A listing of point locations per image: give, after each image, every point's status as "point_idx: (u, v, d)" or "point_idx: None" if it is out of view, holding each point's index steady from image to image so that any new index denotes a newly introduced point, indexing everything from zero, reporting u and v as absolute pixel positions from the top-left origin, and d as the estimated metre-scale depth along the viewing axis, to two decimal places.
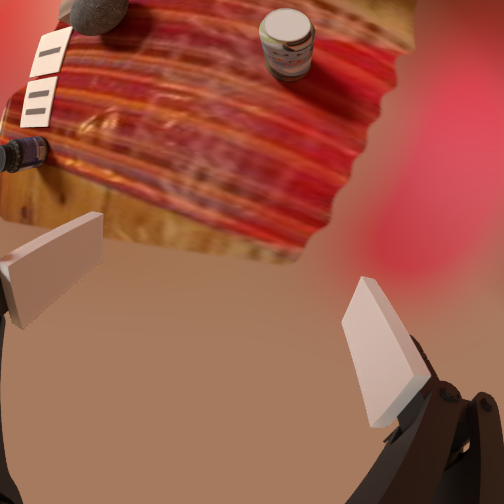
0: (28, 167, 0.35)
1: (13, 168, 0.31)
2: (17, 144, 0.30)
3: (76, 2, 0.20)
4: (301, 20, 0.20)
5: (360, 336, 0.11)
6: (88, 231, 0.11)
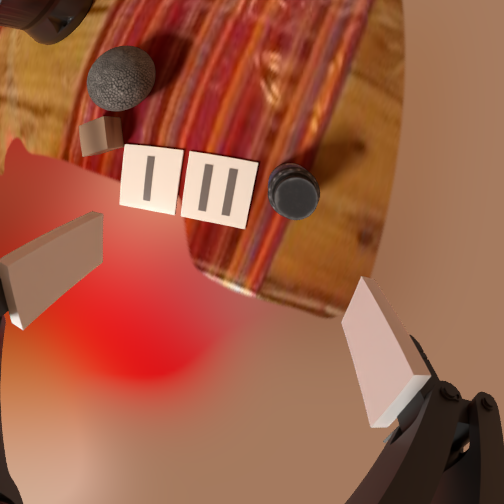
0: None
1: (315, 184, 0.30)
2: (278, 172, 0.30)
3: (101, 80, 0.25)
4: None
5: (360, 336, 0.11)
6: (88, 231, 0.11)
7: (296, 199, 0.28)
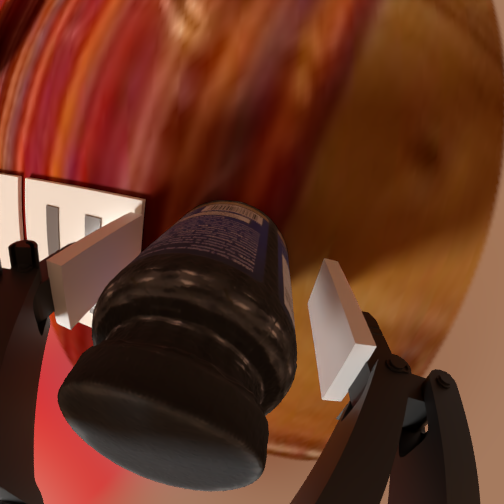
0: (286, 276, 0.10)
1: (271, 354, 0.06)
2: (110, 284, 0.06)
3: None
4: None
5: (319, 313, 0.12)
6: (130, 231, 0.12)
7: (154, 455, 0.04)
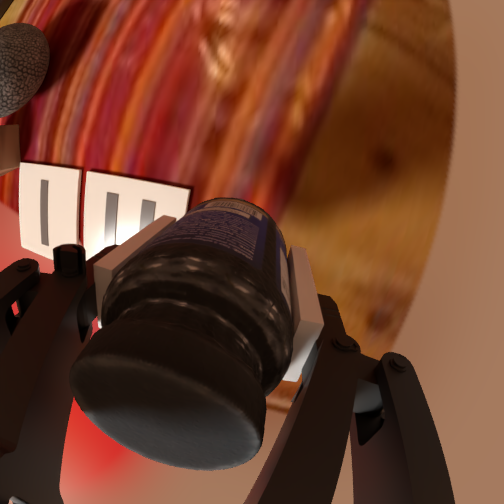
0: (284, 267, 0.10)
1: (268, 335, 0.07)
2: (120, 271, 0.07)
3: None
4: None
5: None
6: None
7: (159, 430, 0.05)
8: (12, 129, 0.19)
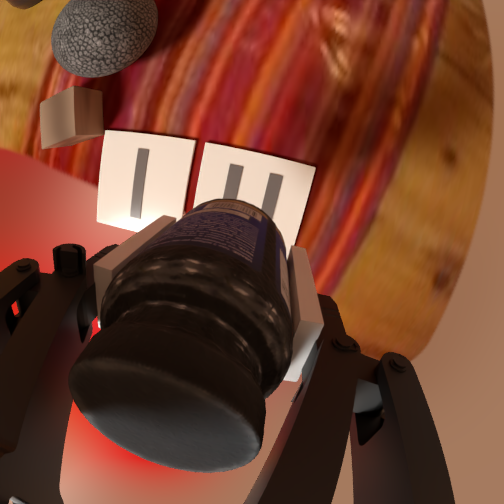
0: (283, 269, 0.10)
1: (268, 338, 0.07)
2: (119, 273, 0.07)
3: (69, 24, 0.11)
4: None
5: None
6: None
7: (158, 433, 0.05)
8: (96, 94, 0.21)
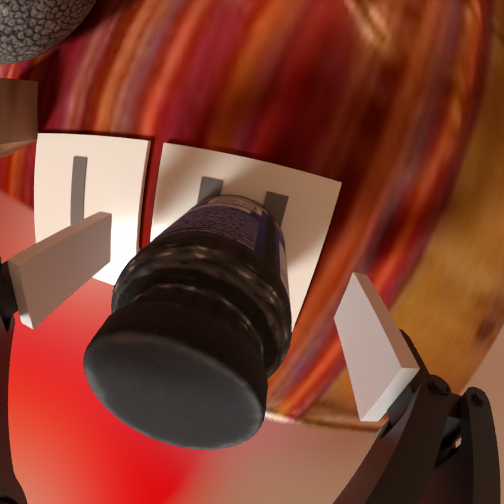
0: (283, 259, 0.11)
1: (269, 318, 0.07)
2: (131, 260, 0.08)
3: None
4: None
5: (351, 331, 0.11)
6: (97, 231, 0.11)
7: (168, 407, 0.06)
8: (28, 86, 0.12)
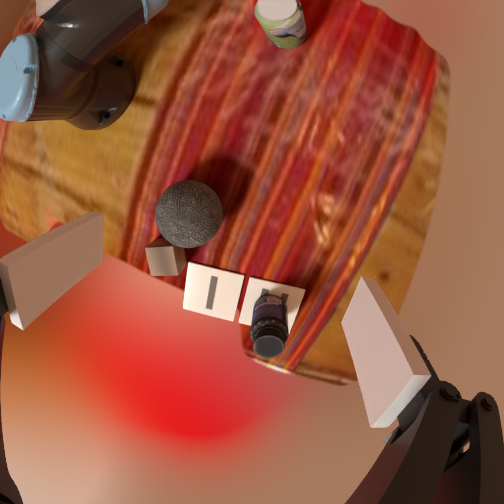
0: (286, 317, 0.45)
1: (284, 331, 0.41)
2: (258, 322, 0.41)
3: (177, 231, 0.36)
4: None
5: (360, 336, 0.11)
6: (88, 231, 0.11)
7: (269, 347, 0.39)
8: None
